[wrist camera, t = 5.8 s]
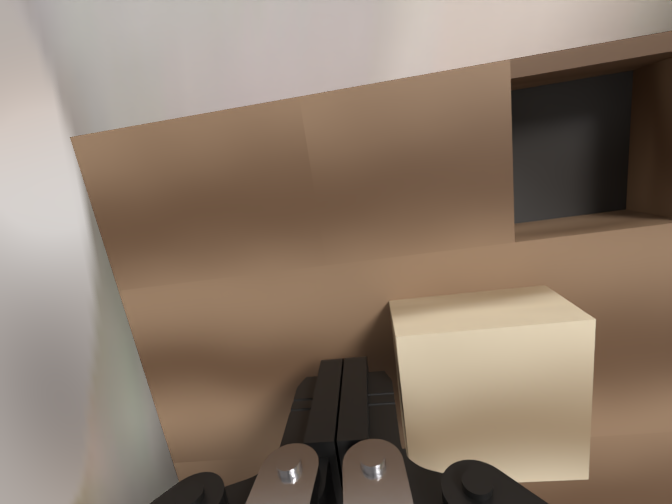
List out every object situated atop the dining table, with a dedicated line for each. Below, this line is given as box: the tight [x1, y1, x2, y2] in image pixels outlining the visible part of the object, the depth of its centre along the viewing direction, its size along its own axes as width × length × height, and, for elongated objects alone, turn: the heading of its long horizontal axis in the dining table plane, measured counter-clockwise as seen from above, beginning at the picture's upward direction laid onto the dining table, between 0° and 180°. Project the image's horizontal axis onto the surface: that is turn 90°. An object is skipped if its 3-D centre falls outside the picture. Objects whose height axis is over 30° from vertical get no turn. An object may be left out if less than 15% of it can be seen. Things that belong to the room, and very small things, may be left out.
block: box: [389, 285, 596, 482], centre depth 11 cm, size 5×5×2 cm
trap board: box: [70, 31, 672, 504], centre depth 13 cm, size 18×25×3 cm
